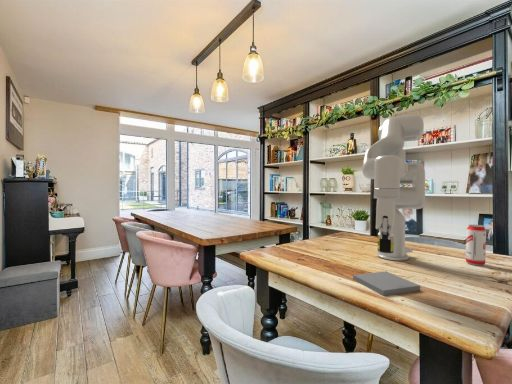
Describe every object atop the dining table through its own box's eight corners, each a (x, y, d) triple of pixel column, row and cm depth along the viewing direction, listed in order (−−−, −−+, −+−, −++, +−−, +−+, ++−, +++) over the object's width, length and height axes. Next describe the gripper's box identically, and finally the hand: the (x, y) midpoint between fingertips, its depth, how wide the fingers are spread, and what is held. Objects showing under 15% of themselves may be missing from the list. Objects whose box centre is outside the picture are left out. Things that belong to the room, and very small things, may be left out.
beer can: (482, 263, 112) (483, 225, 112) (487, 267, 106) (488, 227, 106) (463, 261, 115) (464, 224, 114) (468, 265, 109) (469, 226, 109)
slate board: (386, 275, 96) (386, 271, 96) (420, 290, 83) (420, 285, 83) (353, 279, 92) (353, 275, 92) (383, 295, 79) (383, 290, 79)
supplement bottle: (374, 251, 89) (375, 226, 89) (388, 251, 90) (388, 226, 90) (382, 255, 85) (383, 228, 84) (396, 254, 85) (397, 228, 85)
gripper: (375, 193, 96) (375, 243, 96) (371, 194, 81) (370, 254, 82) (399, 193, 92) (398, 246, 93) (399, 195, 77) (398, 257, 78)
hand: (385, 249), depth 87 cm, fingers closed on supplement bottle, 4 cm apart
